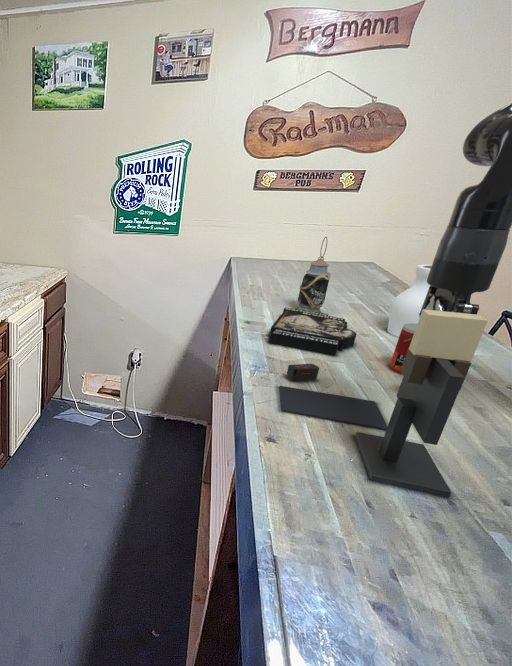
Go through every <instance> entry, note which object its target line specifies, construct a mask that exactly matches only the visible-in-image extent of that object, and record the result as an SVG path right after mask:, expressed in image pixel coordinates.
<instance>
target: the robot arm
mask: <svg viewBox="0 0 512 666" xmlns="http://www.w3.org/2000/svg"><path fill="white" fill-rule="evenodd" d="M462 154H463V157H464V158H465V160H466V161H467V162H469V163H470V164H472V165H476V166H478V167H489V168H488V169H487V172H486V173H485V175H484V176H483V178H482V180H481V181H479V183H476V184H473V185H469V186H467V187H465V188H463V189H462V190H461V191H460V192H459V194H458V196H457V198H456V200H455V203H454V206H453V208H452V212H451V216H450V217H449V220H448V223H447V225H446V228H445V231H444V232H443V234H442V236H441V238H440V241H439V244H438V246H437V249H436V252H435V254H434V258H433V261H432V263H431V265H432V266H431V269H430V272H429V275H428V278H427V283H428V284H429V285H430V287H429V290H428V292H427V295H426V298H425V300H424V303H423V306H422V309H421V311H420V313H419V317H420V315H421V313H422V310H423V309H425V310H435V311H446V312H456V313H466V314H477V315H478V312H479V310H480V305H479V304H475V303H471V298H472V295H473V294H474V293H483V292H486V291H489V289H490V287H491V284H492V282H493V280H494V277H495V274H496V273H497V269H498V267H499V265H500V262H501V260H502V258H503V254H504V252H505V250H506V246H507V244H508V238H509V234H510V231H511V228H512V102H511V103H509V104H506V105H505V106H503V107H501V108H499V109H498V110H496V111H494V112H492V113H490V114H488V116H486V117H484V118H483V119H482V120H480V121H479V122H478V123H476V125H474V127H472V129H471V130H470V131H469V132H468V134H467V135H466V137H465V138H464V141H463V144H462Z"/></svg>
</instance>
